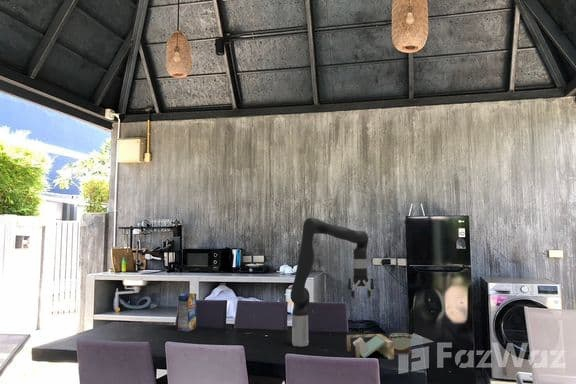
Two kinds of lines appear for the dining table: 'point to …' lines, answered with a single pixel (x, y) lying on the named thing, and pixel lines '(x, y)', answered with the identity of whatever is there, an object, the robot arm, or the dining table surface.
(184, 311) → the juice carton
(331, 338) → the dining table surface
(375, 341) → the trapdoor
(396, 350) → the food container
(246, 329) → the dining table surface
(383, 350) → the trapdoor frame
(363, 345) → the beige block
